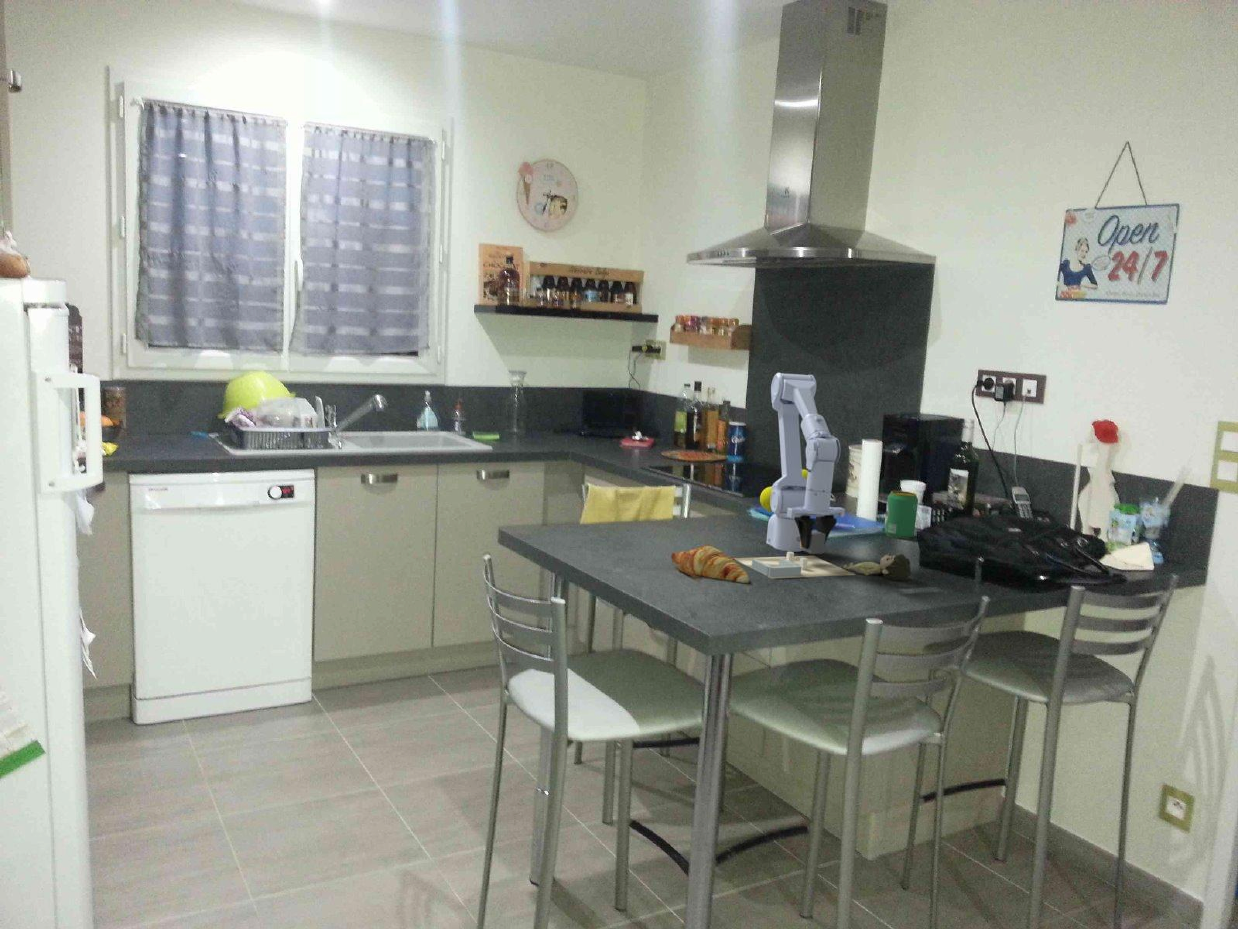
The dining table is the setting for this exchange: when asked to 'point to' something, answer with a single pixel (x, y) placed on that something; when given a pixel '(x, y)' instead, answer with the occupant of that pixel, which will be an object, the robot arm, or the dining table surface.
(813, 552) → the block
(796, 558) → the board
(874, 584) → the dining table surface
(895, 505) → the beverage can
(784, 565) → the end holder
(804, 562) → the twin white cubes
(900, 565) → the figurine
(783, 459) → the robot arm
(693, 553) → the croissant
